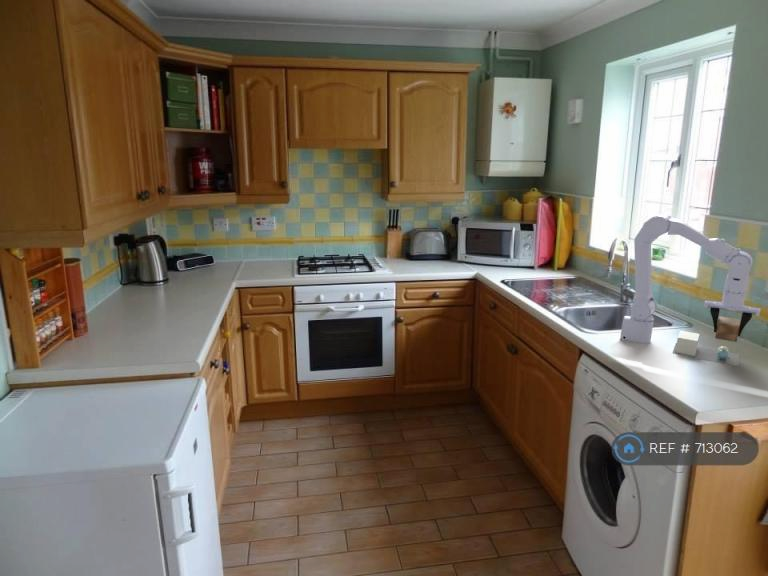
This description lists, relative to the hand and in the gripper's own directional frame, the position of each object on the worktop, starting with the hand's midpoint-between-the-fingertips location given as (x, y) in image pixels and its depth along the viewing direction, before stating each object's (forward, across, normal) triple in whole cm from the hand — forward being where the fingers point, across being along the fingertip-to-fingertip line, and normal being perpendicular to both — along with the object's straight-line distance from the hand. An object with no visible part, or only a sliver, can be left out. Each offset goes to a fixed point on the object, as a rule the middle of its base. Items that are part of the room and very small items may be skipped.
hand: (726, 333), depth 167 cm
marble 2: (+8, 0, -2) cm, 8 cm away
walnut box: (+1, 0, 0) cm, 1 cm away
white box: (+8, -10, 0) cm, 13 cm away
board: (+9, -4, 0) cm, 10 cm away
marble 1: (+8, 0, +2) cm, 8 cm away
